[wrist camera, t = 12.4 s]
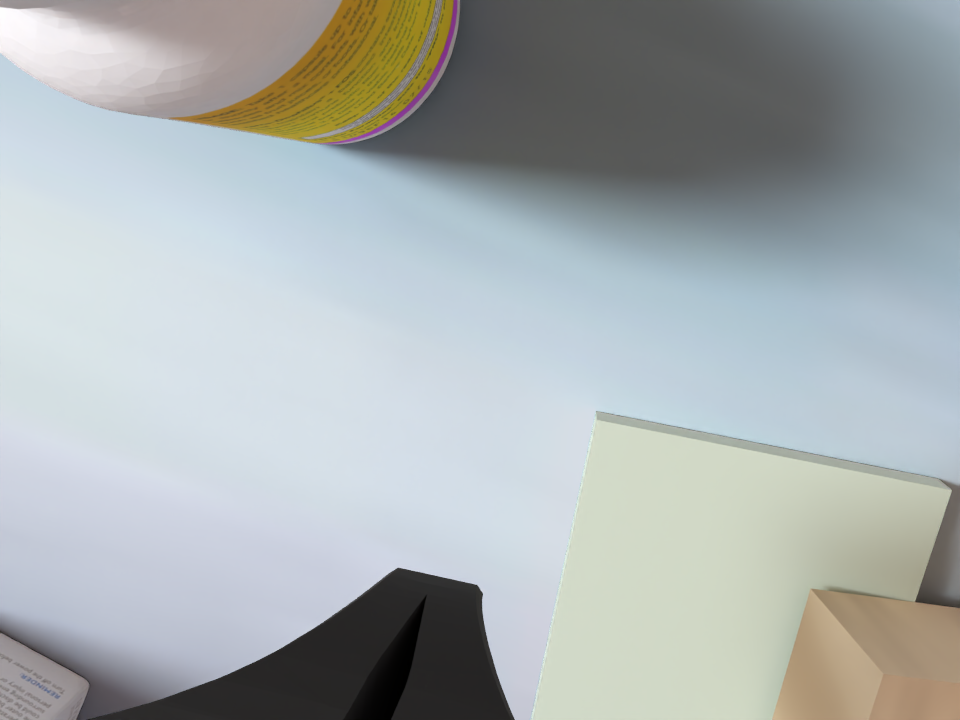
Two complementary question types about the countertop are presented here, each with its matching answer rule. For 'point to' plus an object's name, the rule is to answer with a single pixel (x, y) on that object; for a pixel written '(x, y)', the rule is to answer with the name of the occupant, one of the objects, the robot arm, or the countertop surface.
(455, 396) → the countertop surface
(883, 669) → the beech block
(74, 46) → the supplement bottle
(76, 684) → the light bulb box
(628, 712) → the sage board
